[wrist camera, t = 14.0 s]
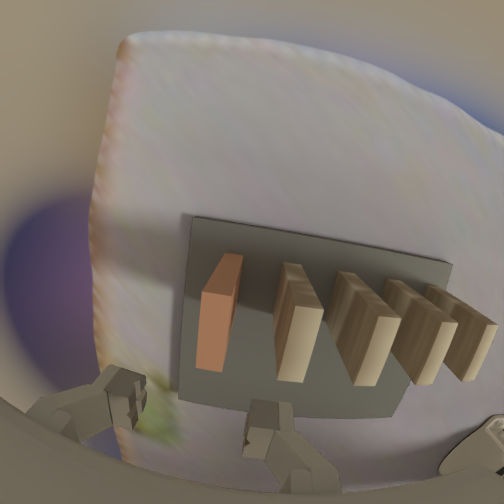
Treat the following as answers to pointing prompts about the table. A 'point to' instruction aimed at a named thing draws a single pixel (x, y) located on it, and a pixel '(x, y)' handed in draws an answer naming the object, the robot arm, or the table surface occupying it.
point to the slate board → (261, 320)
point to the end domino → (218, 312)
